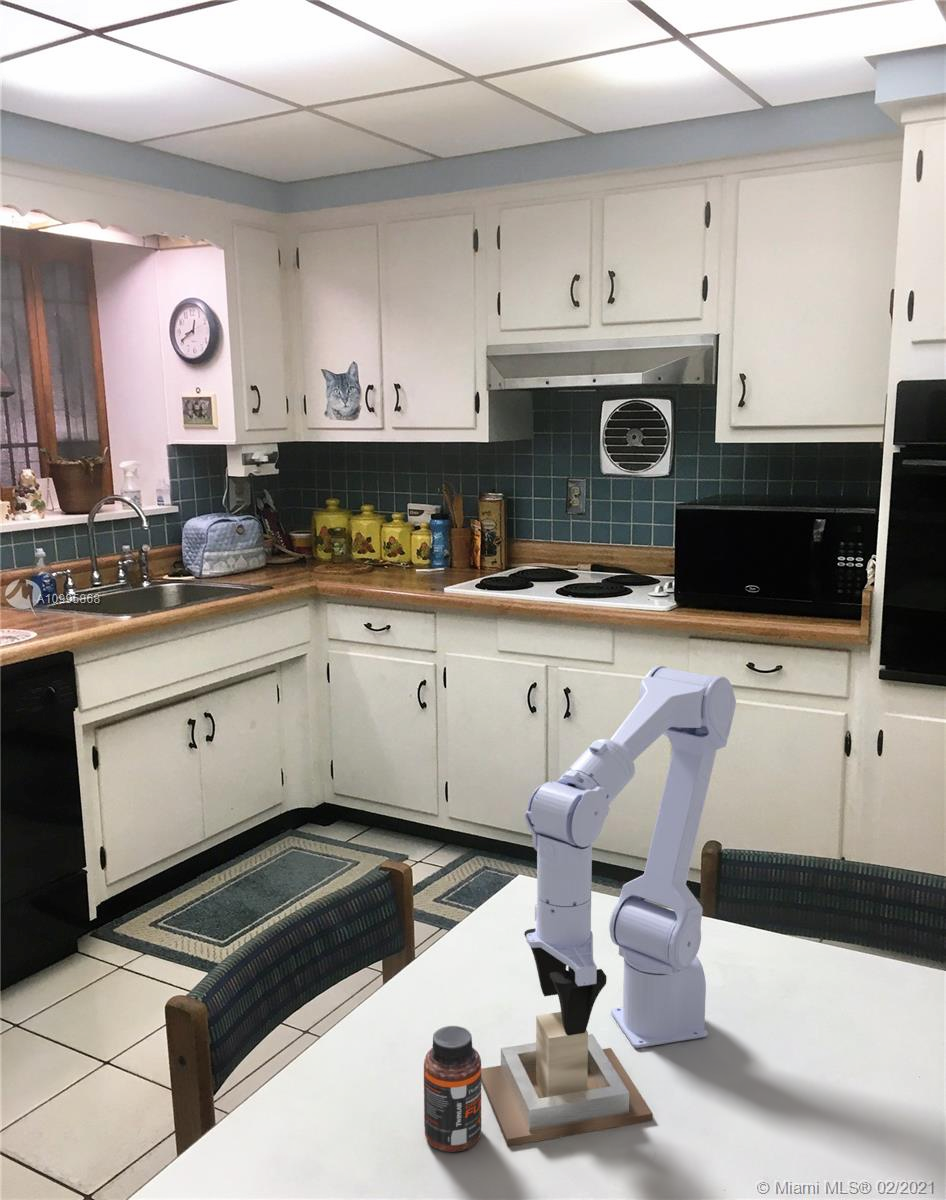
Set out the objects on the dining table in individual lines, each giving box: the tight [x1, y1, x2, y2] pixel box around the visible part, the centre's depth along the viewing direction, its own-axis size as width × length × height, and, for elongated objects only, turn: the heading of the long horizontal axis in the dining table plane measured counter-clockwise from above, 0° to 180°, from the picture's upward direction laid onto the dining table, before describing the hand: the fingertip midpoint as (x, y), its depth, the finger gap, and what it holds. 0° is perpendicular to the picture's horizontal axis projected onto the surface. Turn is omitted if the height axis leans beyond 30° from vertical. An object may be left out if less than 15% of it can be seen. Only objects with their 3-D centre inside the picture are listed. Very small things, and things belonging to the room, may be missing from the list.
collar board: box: [481, 1033, 654, 1147], centre depth 113 cm, size 16×12×3 cm
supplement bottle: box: [423, 1025, 482, 1153], centre depth 106 cm, size 6×6×11 cm
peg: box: [535, 1011, 589, 1098], centre depth 113 cm, size 4×4×8 cm
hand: (563, 1012), depth 112 cm, fingers open, 7 cm apart
